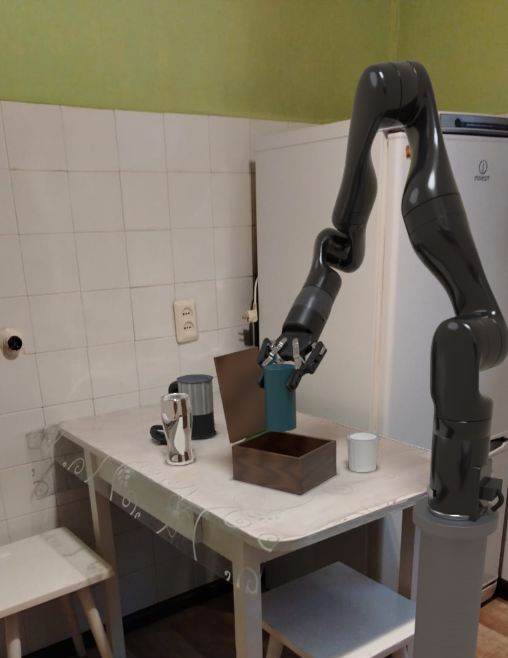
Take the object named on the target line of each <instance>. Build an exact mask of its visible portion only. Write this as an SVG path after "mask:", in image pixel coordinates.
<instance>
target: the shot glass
mask: <svg viewBox="0 0 508 658" xmlns="http://www.w3.org/2000/svg"><path fill="white" fill-rule="evenodd" d="M380 439H381V437H380V434H377V433H375V432H369V431H357V432H351V433H348V434H347V435H346V446H347V458H348V469H349V470H351V472H352V471H353V472H355V473H356V472H357V473H371V472H374V471H375V470H376V469H377V463H378V457H379V456H378V455H379V446H380Z"/></svg>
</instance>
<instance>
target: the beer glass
mask: <svg viewBox="0 0 508 658" xmlns="http://www.w3.org/2000/svg"><path fill="white" fill-rule="evenodd" d="M159 398H160V419H161V420H160V421H161V425H163V430H162V431H163V432H164V433H165V437H166V441H167V443H166V446H167V457H166V462H167V464H169V465H171V466H184V465H189V464H191V463H193V462H194V461H195V458H194V453H193V450H192V439H191V434H192V423H193V415H192V406H191V400H190V395H189V394H186V393H171V394H168V393H166V394H162V395H161V396H160V397H159Z"/></svg>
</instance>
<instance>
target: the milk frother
mask: <svg viewBox="0 0 508 658" xmlns="http://www.w3.org/2000/svg"><path fill="white" fill-rule="evenodd" d="M213 379H214V376H213V375H210V374H206V373H205V374H203V373H194V374H192V373H191V374H185V375H181V376H178V377H176V380H175V381H172V382H171V383H170V384H169V385H168V389H167V390H168V391H167V394H171V393H186V394H189V395H190V400H191V406H192V415H193V423H192V434H191V440H201V439H208V438H211V437H213V436H215V435H216V434H217V431H216V425H215V413H214V411H215V409H214V390H213V389H214V385H213ZM149 435H150V436H151V438H152V439H153V440H154V441H156V442H159V443H160V444H163V443H166V444H167V441H166V437H165V433H164V430H163V425H162V424H153V425H152V426H151V427H150V428H149Z"/></svg>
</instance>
